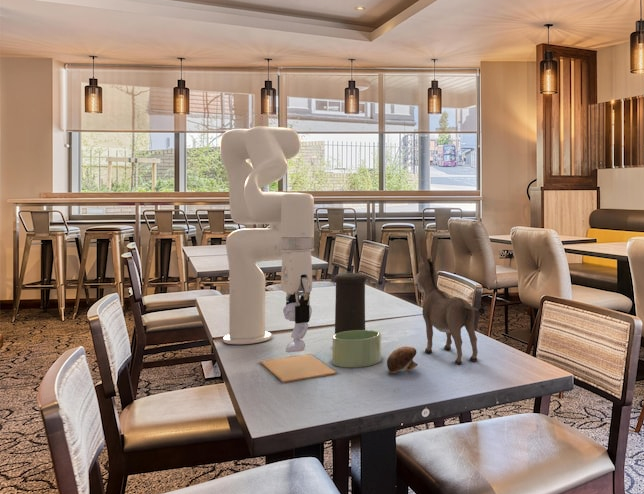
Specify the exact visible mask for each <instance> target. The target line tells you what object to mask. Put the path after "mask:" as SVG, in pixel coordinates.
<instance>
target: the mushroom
mask: <svg viewBox="0 0 644 494" xmlns="http://www.w3.org/2000/svg"><path fill="white" fill-rule="evenodd" d="M416 355H417V349H416V348H415V347H413V346H400V347H398V348H396V349H394V350H393V351H392V352H391V353H390V354H389V355H388V358H387V360H386V367H387V370H388V372H389V373H391V374H397V373H399V372H401V371H405V372H410V371H411V370H413V369H415V368H417V366H418V364H419V363H417V362H415V361H414V358H415V357H416Z"/></svg>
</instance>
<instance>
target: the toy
mask: <svg viewBox="0 0 644 494" xmlns="http://www.w3.org/2000/svg"><path fill="white" fill-rule="evenodd" d="M438 249H439V238H438V236H437V235H435V236H434V238H433V239H432V242H431V246H430V256H429V255H428V254H429V253H428V247H427V244H426V240H425V238H424V237H423V236H420V239H419V253H420V256H421V259H422V260H423V262H420V263H419V264H418V269H419V271H418V273H416V275H415V278H414V286H416V287H417V290H418V292H419V293H424V296H425V299H424V301H423V305H422V311H421V312H422V317H423V321H424V323H425V330H426V340H427V342H426V343H427V344H426V347H425V348H424V353H426V354H431V353H433V349H432V348H433V338H434V337H433V336H434V328H435V329H436V330H437V331H439V332H442V333H445V334H446V343H445V345H444V346H443V349H444V350H445V351H450V350H452V346H451V345H452V344H453V342H454V345H455V349H456V354H457V355H456V358H455V359H454V364H456V365H461V364H463V362H462V357H463V349H462V345H463V340H462V329H463V327H464V328H465V330H466V332H467V335H468V338H469V342H470V345H471V349H472V350H471V351H472V354H471V356H470V357H469V361H471V362H477V361H478V357H477V356H478V354H479V353H478V345H477V344H478V343H477V342H478V337H477V335H476V330H475V319H476V318H475V311H476V312H478V314H480V315H484V314H485V313H486V309H485V307H484V306H482V307H479V308H476V307H473V306H472V305H471V303H470V302H468V301H467V300H466V299H464V298H462V297H458V296H453V297H450V295H449V294H448V293H447V292H446V291H444V290H441V289H440V288H439V286H438V273H437V271H436V260H437V257H438ZM452 339H453V340H452Z"/></svg>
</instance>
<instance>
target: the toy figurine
mask: <svg viewBox="0 0 644 494" xmlns="http://www.w3.org/2000/svg"><path fill="white" fill-rule="evenodd" d="M295 306H297V304H296V302H295V303H290V304H287V305H286V304H285V306H284V307H283V310H282V312H283V316H284V319H285V320H288V321H289V322H294V327H293V329H292V332H291V336H290V338H292V339H293V340H292V341H293V342H290V343H288V344H287V346H286V348H285V353H297V352H302V351H304V350H305V348H306V343H305V342H304V340H303V339H304V337H305V336H306V334H307V333H308V329H309V322H306V323H295ZM312 313H313V310H312V306H311V304H310V305H309V321H310V319H311V317H312Z"/></svg>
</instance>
